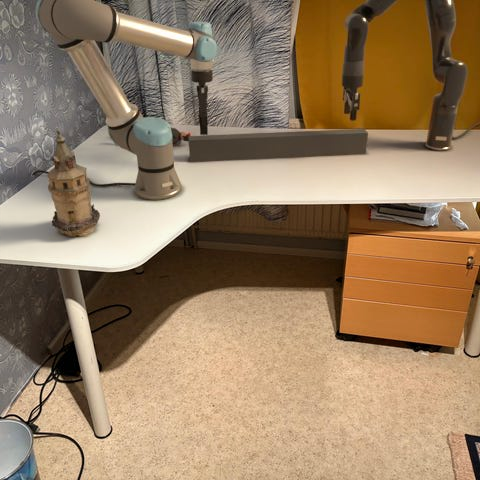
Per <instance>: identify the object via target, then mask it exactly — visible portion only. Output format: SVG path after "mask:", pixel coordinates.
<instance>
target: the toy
mask: <svg viewBox="0 0 480 480" xmlns="http://www.w3.org/2000/svg"><path fill="white" fill-rule="evenodd" d="M171 132H172V145H173V147H174V146H178V145H179V144H180V143H181V142H185V143H187V142H189V136H192V134H191V132H189V131H180V130H178V129H177V128H175V127H171Z"/></svg>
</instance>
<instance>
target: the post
mask: <svg viewBox="0 0 480 480" xmlns="http://www.w3.org/2000/svg"><path fill="white" fill-rule="evenodd" d="M368 136H369V132H368V131H367V130H366V128H350V129H348V128H347V129H346V128H345V129H323V130H302V131H301V130H299V131H277V132H257V133H256V132H254V133H253V132H252V133H251V132H250V133H229V134H227V133H226V134H208V135H191V136H189V141H188V148H189V149H188V151H189V152H188V153H189V162H190V163H197V162H218V161H219V162H220V161H239V160H241V161H242V160H243V161H244V160H263V159H264V160H265V159H266V160H267V159H284V158H308V157H309V158H310V157H329V156H331V157H333V156H353V155H366V154H367V148H368V146H367V145H368Z"/></svg>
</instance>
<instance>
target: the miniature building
mask: <svg viewBox="0 0 480 480" xmlns="http://www.w3.org/2000/svg"><path fill="white" fill-rule="evenodd" d="M56 134H57V136H56V138H55V140H54V141H55V142H56V147H55V154H54V156H52V157H51V161H52V162H53V165H54V167H53V168H51V169H50V170H49V171H48V172H49V173H48V174H46V178H47V179H48V182H49V184H48V186H47V190H48V191H49V193H50V194H51V200H52V201H53V205H54V209H55V211H53V217H52V220H51V223H52V225H51V227H54V228H56V229H58V230H59V231H60V234H63V235H64V234H65V235H66V236H69V237H77V236H80V237H83V236H87V235H88V234H90V233H93V232H94V231H95V229H96V226H97V225H98V223H99V220H100V216H101V213H100V212H99V210H98V209H96V208H95V204H92V201H91V200H92V199H91V198H92V197H91V192H92V191H91V188H90V185H91V184H90V181H91V178H89V177H88V174H87V167H85V166H84V165H83V166H82V165H80V164H77V160H76V154H75V151H74V150H70V149H69V147H68V145H67V143H66V138H65V137H64V136H63V135H61V130H60V129H56Z"/></svg>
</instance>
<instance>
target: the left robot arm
mask: <svg viewBox="0 0 480 480" xmlns="http://www.w3.org/2000/svg"><path fill="white" fill-rule="evenodd" d="M34 12H35V13H34V14H35V18H36V21H37V23H38V25H39V26H40V27H41V29H42V30H44V31H45V32H46V33H47V34H49V35H50V37H52V39H53V41H54V42H55V44H56V46H57V47H58V49H59V50H60V51H61V50H62V51H65V52H67V54H68V55H69V57H70V58H71V60H72V62H73V64H74V65H75V66H76V68H77V70H78V72H79V73H80V75H81V76H82V78H83V80H84V81H85V83H86V85H87V87H88V88H89V90H90V92H91V93H92V94H93V96H94V98H95V99H96V101H97V103H98V105H99V106H100V108H101V109H102V111H103V113H104V114H105V116H106V117H105V125H106V126H107V132H108V137H109V138H110V140H111V141H112V142H113V143H114V144H115V145H116V146H117V147H119V148H121V149H123V150H126V151H127V152H129V153H132V154H133V155H135V156H136V161H137V175H136V179H135V182H111V183H101V184H99V183H94V182H92V181H91V180H90V184H89V185H91V186H93V187H98V188H102V187H103V188H104V187H105V188H106V187H111V186H112V187H113V186H134V193H135V195H136V196H137V197H138V198H141V199H143V200H148V201H161V200H168V199H171V198H174V197H176V196H178V195H179V194H180V193H181V192H182V183H181V180H180V177H179V176H178V173H177V171H176V169H175V161H174V160H175V159H174V158H175V157H174V146H173V145H172V132H171V128H172V126H171V124H170V123H169V122H168V121H167V120H166V119H163V118H161V117H155V116H154V117H153V116H146V117H144V116H143V114H142V113H141V110H140V109H139V107H138V105H136V104H135V103H130V101H129V99H128V97H127V95H126V94H125V92H124V90H123V88H122V86H121V85H120V83H119V80H118V79H117V77H116V76H115V74H114V72H113V70H112V69H111V67H110V65H109V63H108V62H107V60H106V59H105V57H104V54H103V53H102V50H101V49H100V48H99V46H98V44H97V42H101V43H104V44H110V43H112V42H117V43H122V44H127V45H131V46H134V47H140V48H144V49H148V50H152V51H156V52H160V54H161V55H162V56H164V57H174V56H178V57H182V58H186V59H188V60H189V59H190V69H191V71H190V80H191V81H192V83H197V84H198V85H196V93H197V100H198V101H197V102H198V114H197V118H198V124H199V136H203V135H209V130H208V129H209V128H208V127H209V125H208V115H209V114H208V102H207V101H208V95H209V94H208V92H209V86H208V85H207V83H211V82H213V80H214V79H213V78H214V77H213V75H214V74H213V73H214V72H213V63H215V60H214V59H215V57H216V56H217V52H218V45H217V43H216V41H215V40H214V39H213V29H212V24H211V23H210V22H207V21H191V22H190V23H189V27H188V29H184V30H182V29H180V28H176V27H172V26H168V25H165V24H161V23H158V22H154V21H151V20H147V19H143V18H140V17H137V16H134V15H133V16H132V15H129V14H126V13H122V12H119V11H117V9H116V8H115V7H114V6H111V5H108V4H105V3H103V2H100V1H97V0H37V2H36V5H35V11H34ZM38 173H39V174H41V173H42V174H46V175H48V173H49V171H48V170H43V169H42V170H40V169H39V170H35V171H33V172H32V174H31V175H32V176H35V175H37V174H38Z"/></svg>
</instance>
